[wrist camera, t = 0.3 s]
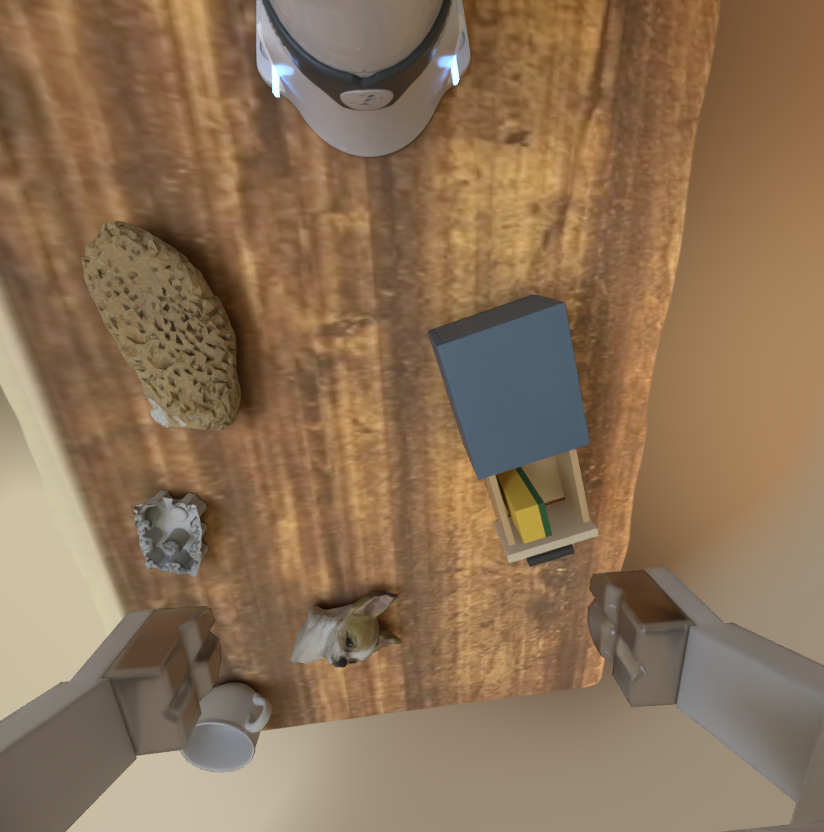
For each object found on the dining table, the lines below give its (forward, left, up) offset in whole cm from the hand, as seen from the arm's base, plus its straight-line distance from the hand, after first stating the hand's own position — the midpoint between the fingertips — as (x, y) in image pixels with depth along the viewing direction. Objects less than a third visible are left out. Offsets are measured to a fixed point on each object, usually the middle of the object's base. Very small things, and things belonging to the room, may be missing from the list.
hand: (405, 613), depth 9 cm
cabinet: (+7, +12, -39) cm, 41 cm away
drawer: (+22, +16, -38) cm, 47 cm away
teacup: (+57, -28, -39) cm, 74 cm away
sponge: (-1, -22, -39) cm, 45 cm away
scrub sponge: (+20, +14, -37) cm, 44 cm away
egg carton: (+24, -29, -39) cm, 54 cm away
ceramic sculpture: (+42, -9, -39) cm, 58 cm away
